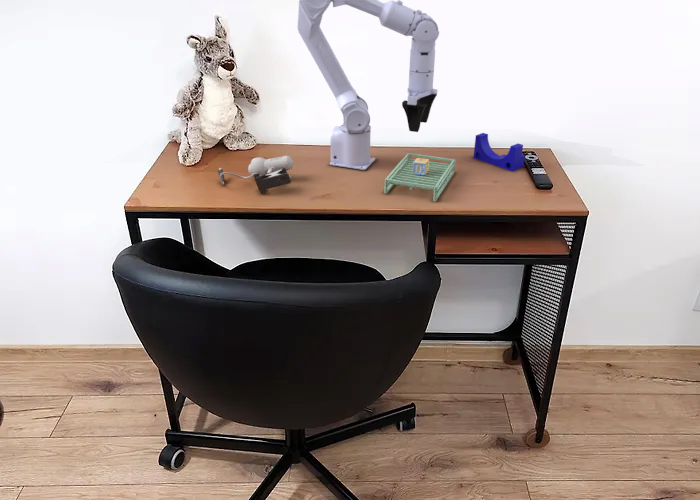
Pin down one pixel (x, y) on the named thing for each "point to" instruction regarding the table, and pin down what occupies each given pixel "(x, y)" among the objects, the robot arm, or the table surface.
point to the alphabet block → (420, 166)
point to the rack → (402, 174)
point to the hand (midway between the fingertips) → (418, 126)
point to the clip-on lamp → (266, 172)
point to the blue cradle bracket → (508, 161)
